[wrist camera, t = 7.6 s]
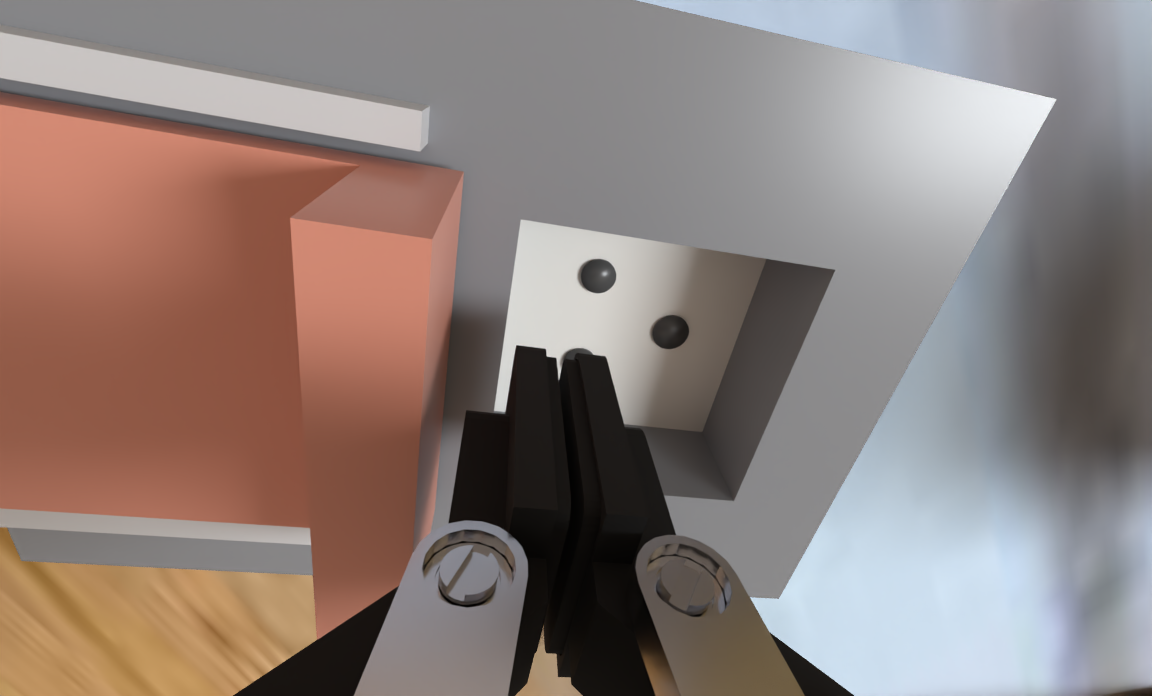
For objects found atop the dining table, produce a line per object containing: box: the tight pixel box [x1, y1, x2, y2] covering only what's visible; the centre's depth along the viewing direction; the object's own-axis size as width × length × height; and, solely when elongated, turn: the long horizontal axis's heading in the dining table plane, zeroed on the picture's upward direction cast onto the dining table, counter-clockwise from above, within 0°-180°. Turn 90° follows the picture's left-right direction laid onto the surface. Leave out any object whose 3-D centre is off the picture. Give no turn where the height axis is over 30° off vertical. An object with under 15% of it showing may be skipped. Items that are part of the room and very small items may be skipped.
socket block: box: [0, 0, 1056, 599], centre depth 13 cm, size 20×14×5 cm
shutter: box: [0, 92, 464, 640], centre depth 9 cm, size 9×8×4 cm
